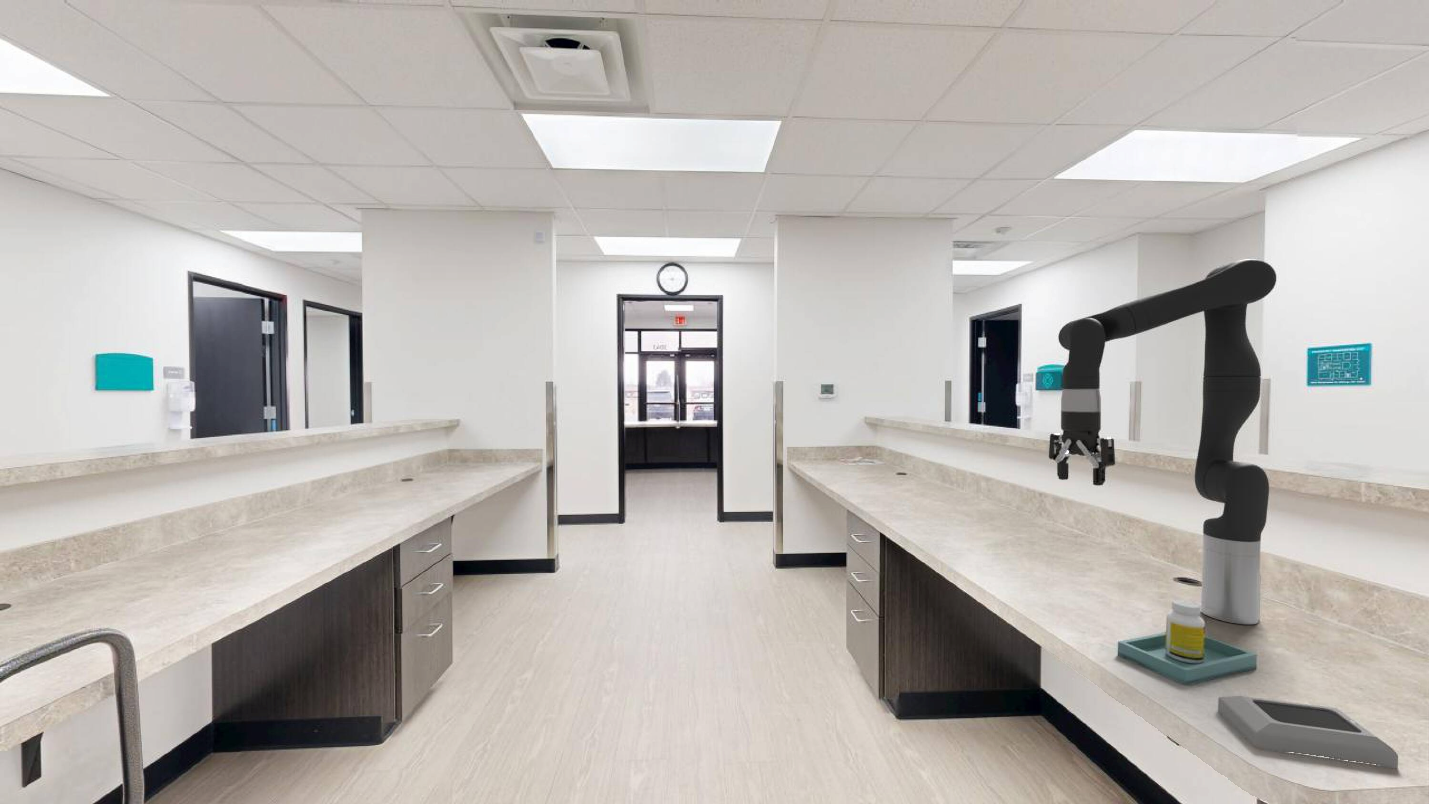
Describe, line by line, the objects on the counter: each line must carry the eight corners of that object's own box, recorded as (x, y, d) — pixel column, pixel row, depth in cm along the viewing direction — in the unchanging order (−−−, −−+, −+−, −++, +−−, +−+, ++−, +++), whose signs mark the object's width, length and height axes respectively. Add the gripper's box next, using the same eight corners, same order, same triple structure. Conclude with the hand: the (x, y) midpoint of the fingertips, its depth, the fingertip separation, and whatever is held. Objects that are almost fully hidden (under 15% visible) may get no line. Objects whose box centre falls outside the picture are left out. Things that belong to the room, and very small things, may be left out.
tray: (1185, 641, 113) (1185, 628, 113) (1256, 668, 103) (1256, 654, 102) (1117, 654, 108) (1117, 641, 107) (1185, 685, 97) (1186, 670, 97)
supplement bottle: (1211, 666, 102) (1212, 610, 102) (1175, 662, 103) (1176, 607, 103) (1193, 652, 107) (1194, 599, 107) (1159, 649, 108) (1160, 596, 108)
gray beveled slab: (1218, 689, 89) (1343, 705, 85) (1217, 713, 89) (1342, 730, 85) (1256, 724, 80) (1398, 743, 76) (1255, 751, 80) (1397, 771, 76)
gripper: (1124, 410, 125) (1123, 486, 125) (1065, 408, 138) (1064, 476, 139) (1098, 411, 123) (1097, 488, 123) (1040, 408, 136) (1040, 478, 136)
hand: (1080, 482), depth 131 cm, fingers open, 8 cm apart
